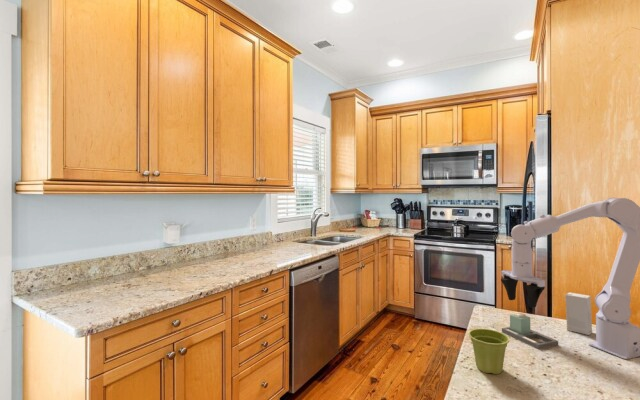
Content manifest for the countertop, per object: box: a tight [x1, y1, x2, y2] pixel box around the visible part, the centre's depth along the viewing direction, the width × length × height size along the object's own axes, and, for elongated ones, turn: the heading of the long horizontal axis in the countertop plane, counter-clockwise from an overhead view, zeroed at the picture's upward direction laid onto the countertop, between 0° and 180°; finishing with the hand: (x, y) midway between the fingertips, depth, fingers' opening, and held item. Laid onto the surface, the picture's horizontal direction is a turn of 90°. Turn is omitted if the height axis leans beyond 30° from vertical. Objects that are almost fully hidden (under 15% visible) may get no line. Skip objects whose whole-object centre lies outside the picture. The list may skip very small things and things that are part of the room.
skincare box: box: [565, 291, 593, 336], centre depth 107 cm, size 6×4×12 cm
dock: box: [501, 326, 559, 350], centre depth 103 cm, size 13×8×1 cm, turn 17°
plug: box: [509, 312, 531, 335], centre depth 106 cm, size 4×4×7 cm
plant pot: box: [468, 328, 510, 375], centre depth 85 cm, size 9×9×9 cm
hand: (521, 303), depth 106 cm, fingers open, 7 cm apart
